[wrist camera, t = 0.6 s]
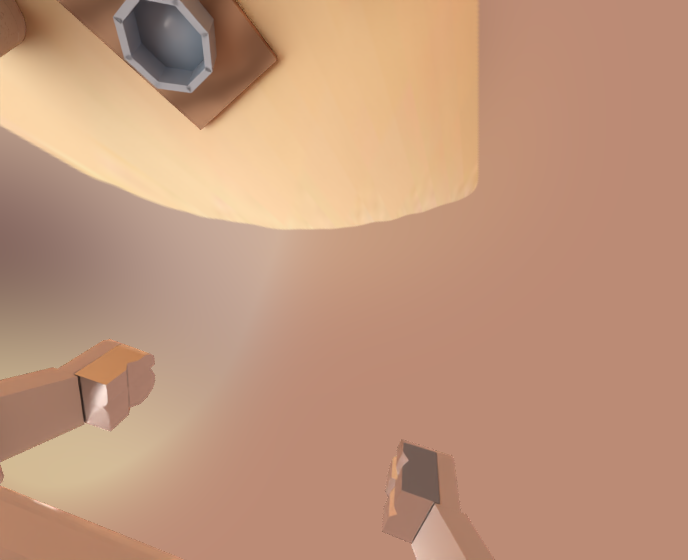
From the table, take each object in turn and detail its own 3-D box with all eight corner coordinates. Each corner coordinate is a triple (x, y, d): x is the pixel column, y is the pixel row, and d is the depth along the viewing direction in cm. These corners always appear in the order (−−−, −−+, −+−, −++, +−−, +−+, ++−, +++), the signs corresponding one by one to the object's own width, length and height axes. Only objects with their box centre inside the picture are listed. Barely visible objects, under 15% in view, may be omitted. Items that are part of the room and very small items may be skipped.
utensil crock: (113, 19, 40) (98, 35, 36) (163, -43, 36) (151, -34, 33) (184, 88, 47) (177, 107, 43) (231, 40, 43) (228, 56, 40)
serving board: (55, -9, 38) (50, -6, 37) (136, -131, 33) (133, -131, 32) (201, 125, 52) (200, 129, 51) (276, 56, 47) (276, 60, 46)
